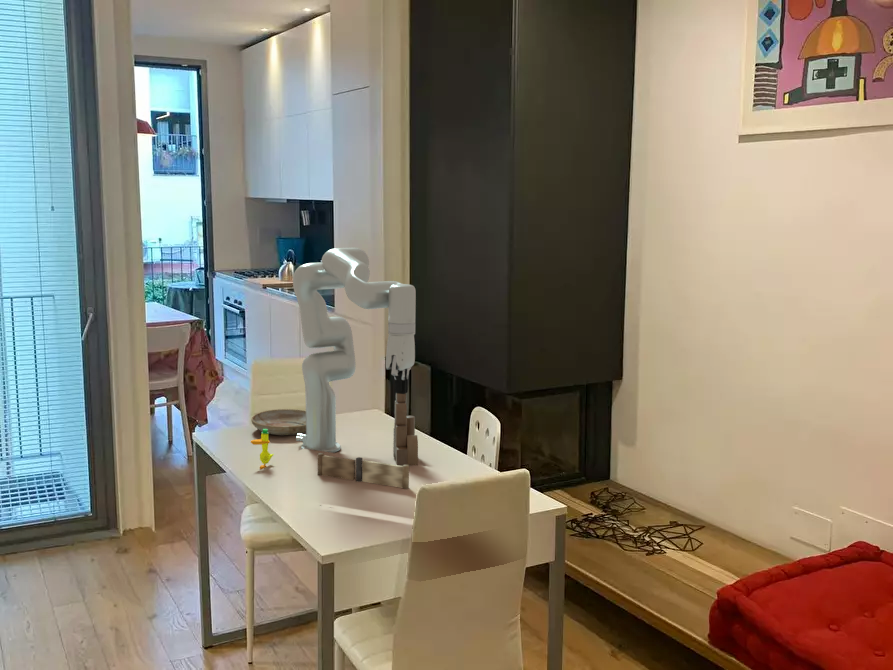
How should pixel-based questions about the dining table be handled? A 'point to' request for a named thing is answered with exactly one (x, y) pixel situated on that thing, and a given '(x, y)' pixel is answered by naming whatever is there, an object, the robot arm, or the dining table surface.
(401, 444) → the wooden toy
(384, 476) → the fence gate
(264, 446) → the toy figure
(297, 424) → the ceramic bowl
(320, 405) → the robot arm
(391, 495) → the dining table surface
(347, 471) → the fence fixed
